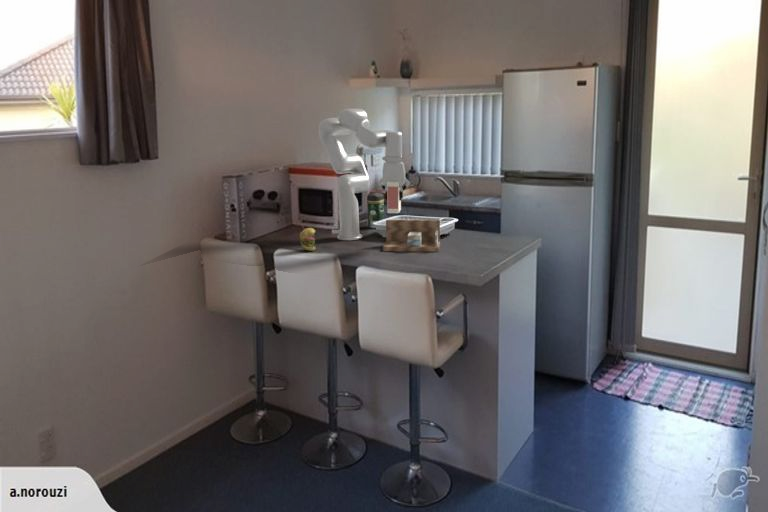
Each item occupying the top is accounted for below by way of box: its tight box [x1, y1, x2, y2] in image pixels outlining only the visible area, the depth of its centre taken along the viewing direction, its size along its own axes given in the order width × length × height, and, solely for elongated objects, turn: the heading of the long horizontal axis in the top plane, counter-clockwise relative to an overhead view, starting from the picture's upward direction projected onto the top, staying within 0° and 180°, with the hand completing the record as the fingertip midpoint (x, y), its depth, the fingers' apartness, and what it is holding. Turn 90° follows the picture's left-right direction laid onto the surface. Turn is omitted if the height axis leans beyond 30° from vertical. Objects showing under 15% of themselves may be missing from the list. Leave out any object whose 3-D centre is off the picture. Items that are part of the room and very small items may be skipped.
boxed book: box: [386, 182, 402, 214], centre depth 293 cm, size 5×9×14 cm, turn 172°
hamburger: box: [299, 225, 316, 252], centre depth 296 cm, size 8×7×12 cm
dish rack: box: [372, 214, 459, 238], centre depth 325 cm, size 32×37×8 cm
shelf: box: [382, 220, 441, 253], centre depth 297 cm, size 25×13×12 cm, turn 82°
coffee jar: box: [366, 192, 385, 230], centre depth 346 cm, size 10×8×19 cm
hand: (394, 199), depth 294 cm, fingers closed on boxed book, 5 cm apart
